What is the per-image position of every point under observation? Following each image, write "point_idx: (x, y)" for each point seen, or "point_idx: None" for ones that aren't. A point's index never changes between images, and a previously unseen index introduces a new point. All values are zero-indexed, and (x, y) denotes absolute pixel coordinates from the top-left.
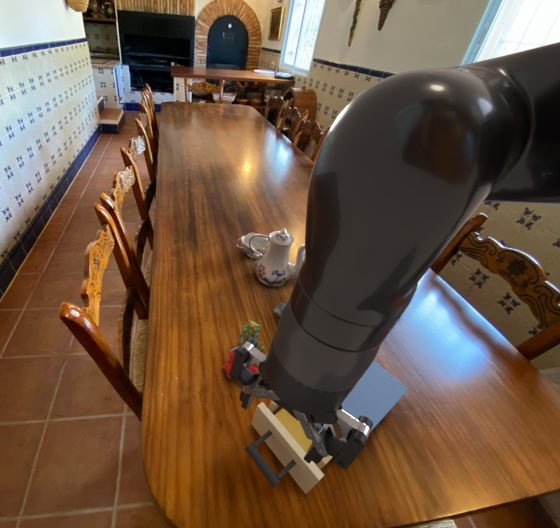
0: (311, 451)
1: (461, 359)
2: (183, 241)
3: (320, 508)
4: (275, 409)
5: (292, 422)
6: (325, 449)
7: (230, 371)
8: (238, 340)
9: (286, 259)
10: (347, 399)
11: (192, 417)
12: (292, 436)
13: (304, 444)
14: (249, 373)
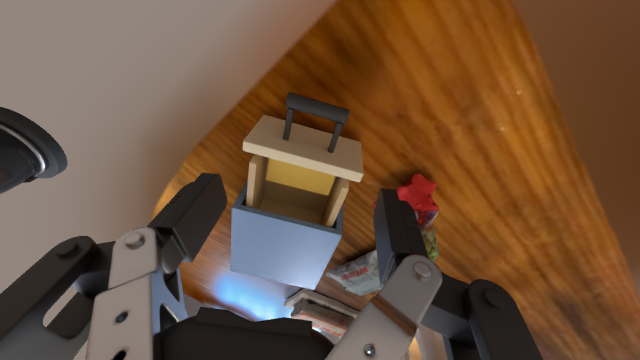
0: (179, 214)
1: (228, 288)
2: (582, 299)
3: (246, 112)
4: (339, 178)
5: (312, 177)
6: (112, 262)
7: (525, 330)
8: (434, 232)
9: (417, 336)
10: (269, 237)
11: (446, 95)
12: None
13: (286, 164)
14: (432, 326)
